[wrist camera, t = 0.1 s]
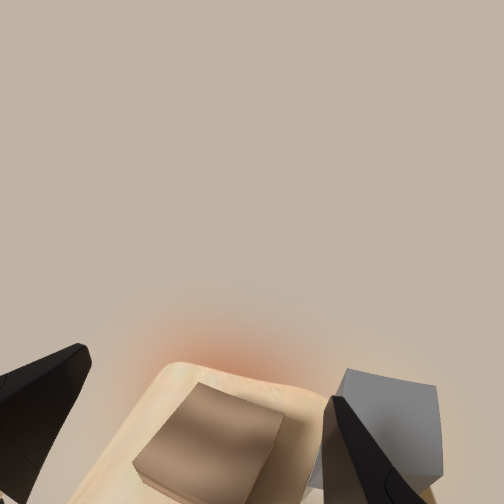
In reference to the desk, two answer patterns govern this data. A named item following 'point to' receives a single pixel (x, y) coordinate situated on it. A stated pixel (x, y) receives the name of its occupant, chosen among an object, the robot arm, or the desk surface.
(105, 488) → the desk surface
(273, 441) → the walnut block
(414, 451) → the gray block
